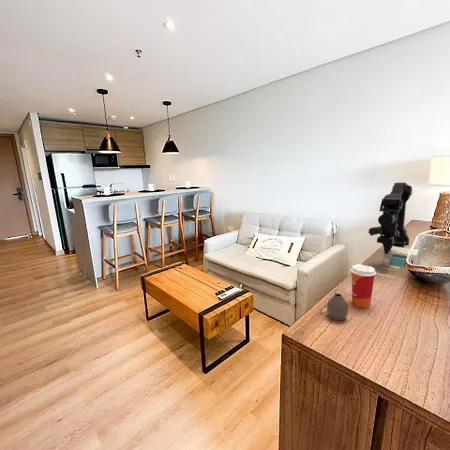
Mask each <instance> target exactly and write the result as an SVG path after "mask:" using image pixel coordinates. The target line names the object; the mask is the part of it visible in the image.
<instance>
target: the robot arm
mask: <svg viewBox="0 0 450 450" xmlns="http://www.w3.org/2000/svg"><path fill="white" fill-rule="evenodd" d="M412 194H413V187H412V186H411V185H409V184H407V182H395V183H393V186H392V189H391V192H390V193H388V194H386V195H385V196H384V197H383V198H382V199H381V202H380V206H379V212H382V214H381V215H379V217H378V218H377V221H378V224H379V225H380V226H373V227H370V228H369V229H368V234H369V235H370V236H371V237H372V236H376V235H380V236H378V237H377V238H376V243H377V244H382V247H383V250H384V251H385V254H388V253H389V251H390V249H391V248H392V246H394V247H402V248H405V246H406V247H407V246H409V245H410V238H409V235H408V231H407V229H406V227H405V220H406V219H405V218H406V211H407V210H406V209H407V207H406V206H407V202H408V201H409V199H411V196H413V195H412Z"/></svg>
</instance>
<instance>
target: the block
mask: <svg viewBox="0 0 450 450" xmlns="http://www.w3.org/2000/svg"><path fill="white" fill-rule="evenodd" d="M390 258H391V260H390V265H393V266H399V267H400V268H401V267H405V265H406V258H407V259H408V256H405V255H398V254H392V255H390Z"/></svg>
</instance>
